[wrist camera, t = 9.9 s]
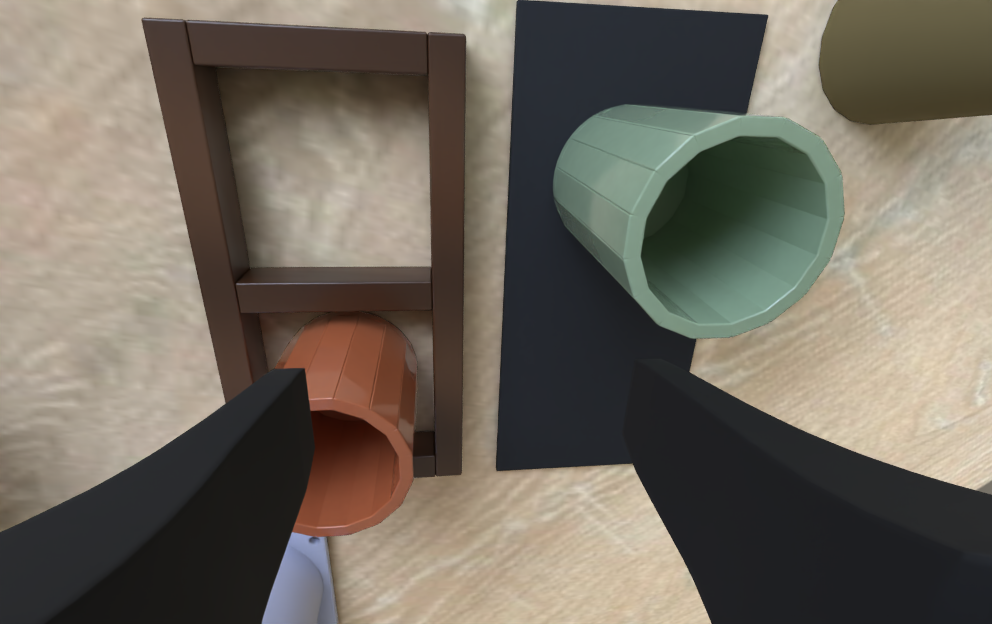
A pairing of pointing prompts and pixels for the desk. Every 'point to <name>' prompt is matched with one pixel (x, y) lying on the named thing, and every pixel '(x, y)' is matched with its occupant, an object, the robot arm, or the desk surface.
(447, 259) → the holder
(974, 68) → the olive pepper mill
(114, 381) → the desk surface
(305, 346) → the terracotta cup
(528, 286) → the desk mat
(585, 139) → the cup
